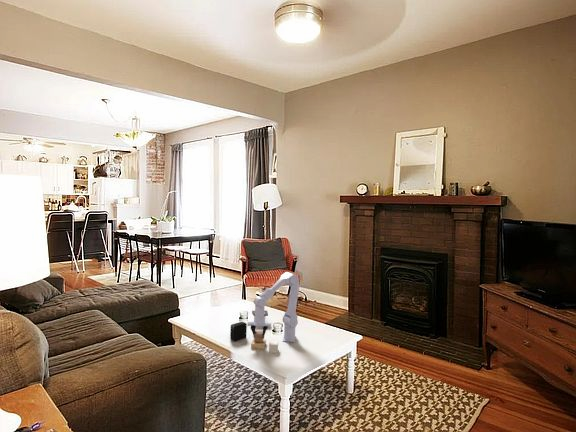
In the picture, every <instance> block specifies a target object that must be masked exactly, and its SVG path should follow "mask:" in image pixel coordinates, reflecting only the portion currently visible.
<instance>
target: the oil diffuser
mask: <svg viewBox="0 0 576 432" xmlns="http://www.w3.org/2000/svg"><path fill="white" fill-rule="evenodd" d="M251 314H252V315H253V318H254V319H253V322H255V310H251ZM267 316H269V313H268V310H264V322H266V317H267Z"/></svg>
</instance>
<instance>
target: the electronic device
mask: <svg viewBox="0 0 576 432" xmlns="http://www.w3.org/2000/svg"><path fill="white" fill-rule="evenodd" d="M247 325H248V323H246V322H244V321H239V322H236V323H232V324H231V325H230V333H229V334H230V337H229V339H230V340H231V341H233V342H238V341H241V340H243V339H246V338H247V333H248V332H247V331H248V329H247V327H248V326H247Z"/></svg>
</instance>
